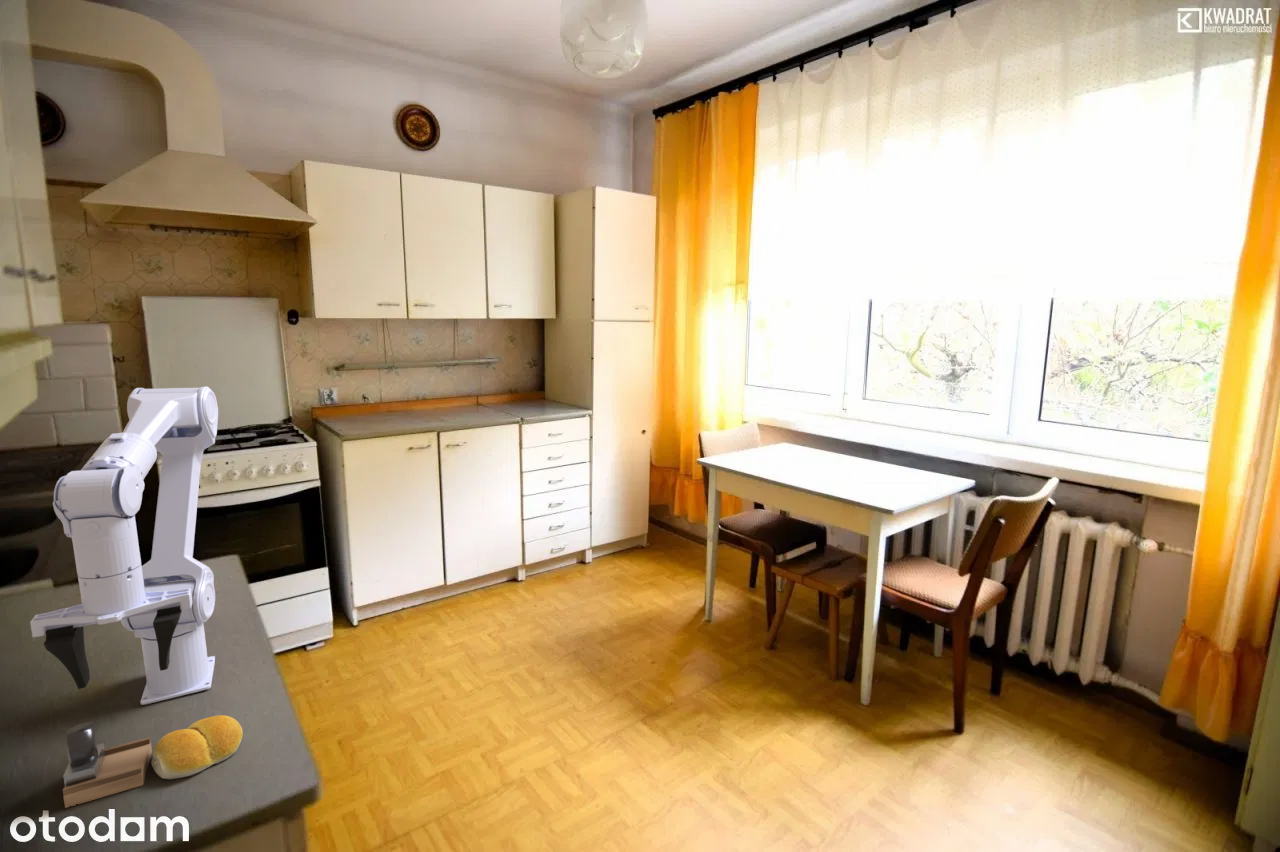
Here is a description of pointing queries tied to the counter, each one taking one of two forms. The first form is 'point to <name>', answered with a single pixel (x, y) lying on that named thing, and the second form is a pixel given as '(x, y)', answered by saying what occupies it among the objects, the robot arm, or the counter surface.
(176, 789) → the counter surface
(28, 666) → the counter surface
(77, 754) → the jaw
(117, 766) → the press bed
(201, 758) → the bread roll
